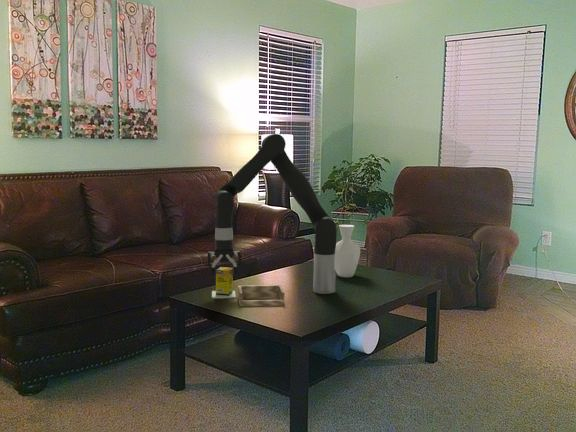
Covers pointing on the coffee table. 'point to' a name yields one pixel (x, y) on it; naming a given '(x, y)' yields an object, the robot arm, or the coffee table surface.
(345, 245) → the vase
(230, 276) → the supplement box
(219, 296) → the pad
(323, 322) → the coffee table surface
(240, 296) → the crate
